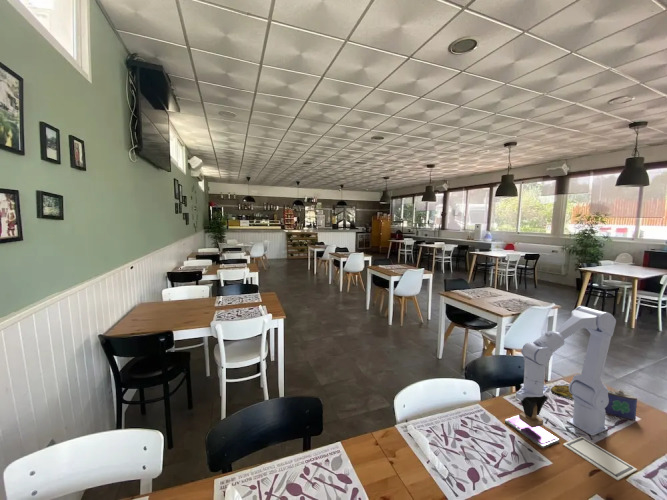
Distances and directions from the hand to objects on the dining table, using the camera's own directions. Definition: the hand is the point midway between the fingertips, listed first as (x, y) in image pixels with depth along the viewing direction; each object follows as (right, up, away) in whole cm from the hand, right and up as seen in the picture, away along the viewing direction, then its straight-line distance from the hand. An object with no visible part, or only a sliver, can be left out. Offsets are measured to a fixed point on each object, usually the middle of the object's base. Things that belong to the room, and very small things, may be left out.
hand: (531, 414), depth 98 cm
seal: (+34, -6, +24) cm, 42 cm away
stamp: (0, -3, 0) cm, 3 cm away
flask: (+41, -6, +9) cm, 42 cm away
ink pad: (0, -6, 0) cm, 6 cm away
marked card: (+14, -7, -11) cm, 19 cm away
